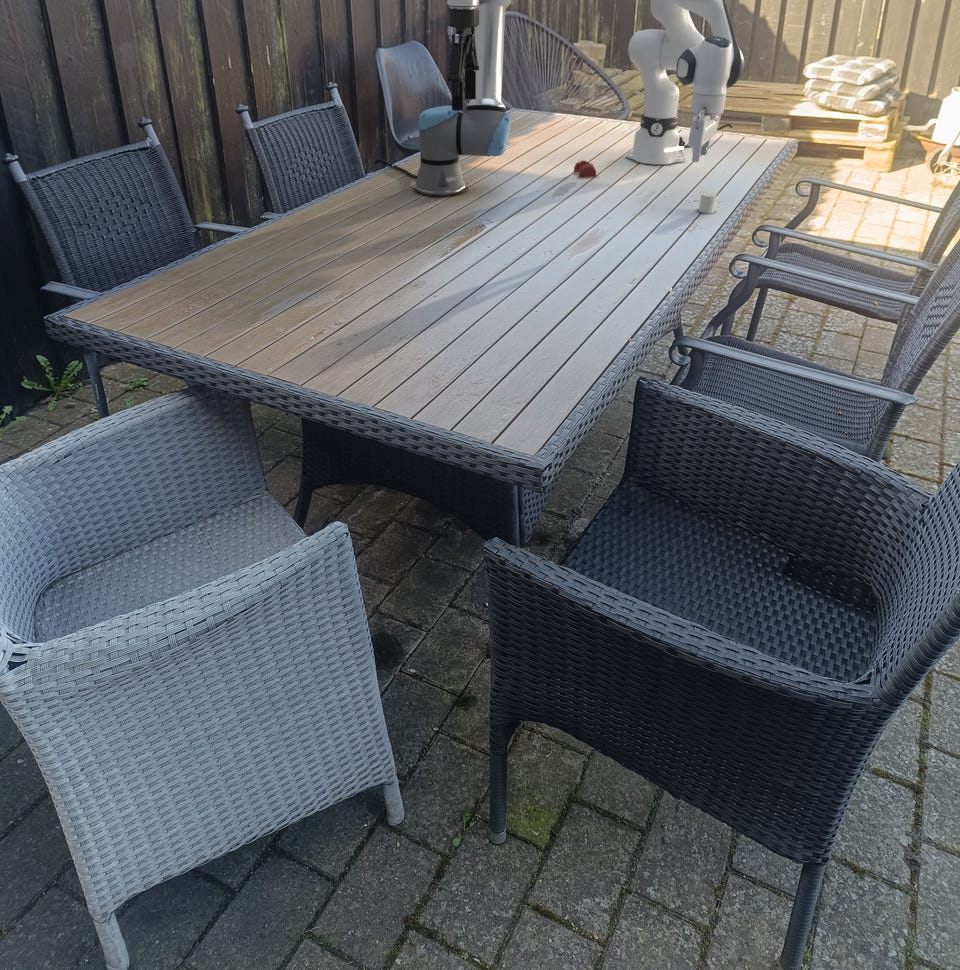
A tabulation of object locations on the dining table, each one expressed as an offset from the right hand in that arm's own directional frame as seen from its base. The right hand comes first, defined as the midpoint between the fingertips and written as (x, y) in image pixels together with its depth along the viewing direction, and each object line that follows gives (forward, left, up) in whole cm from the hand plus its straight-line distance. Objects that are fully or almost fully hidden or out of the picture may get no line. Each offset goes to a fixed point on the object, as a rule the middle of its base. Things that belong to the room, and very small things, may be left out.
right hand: (699, 158), depth 236 cm
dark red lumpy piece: (-24, -36, -14) cm, 46 cm away
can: (+2, +4, -14) cm, 15 cm away
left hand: (+37, -58, +18) cm, 71 cm away
